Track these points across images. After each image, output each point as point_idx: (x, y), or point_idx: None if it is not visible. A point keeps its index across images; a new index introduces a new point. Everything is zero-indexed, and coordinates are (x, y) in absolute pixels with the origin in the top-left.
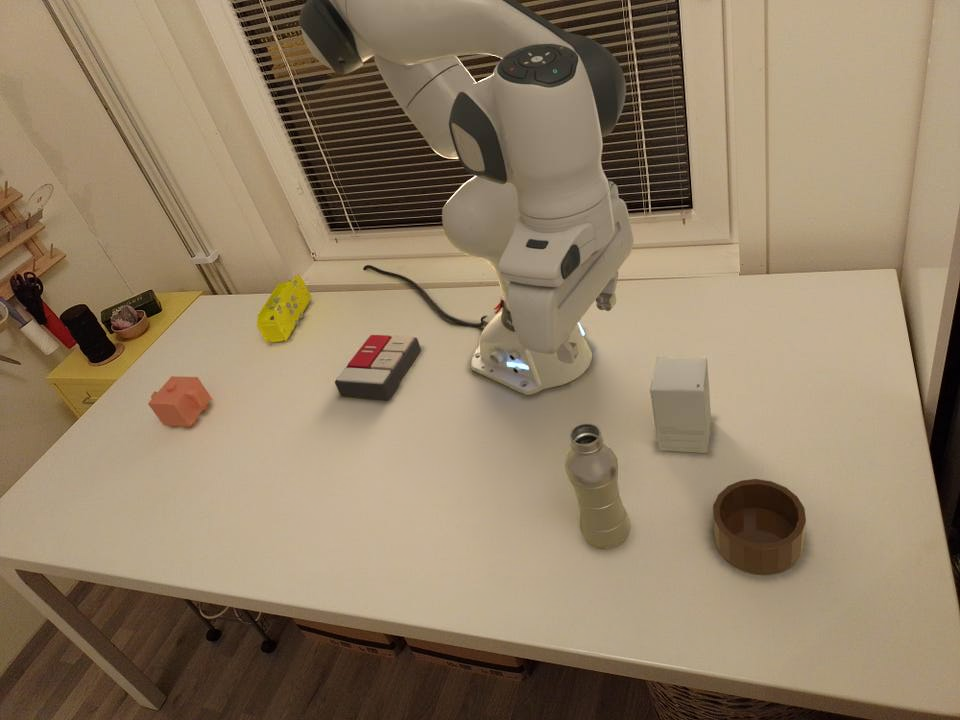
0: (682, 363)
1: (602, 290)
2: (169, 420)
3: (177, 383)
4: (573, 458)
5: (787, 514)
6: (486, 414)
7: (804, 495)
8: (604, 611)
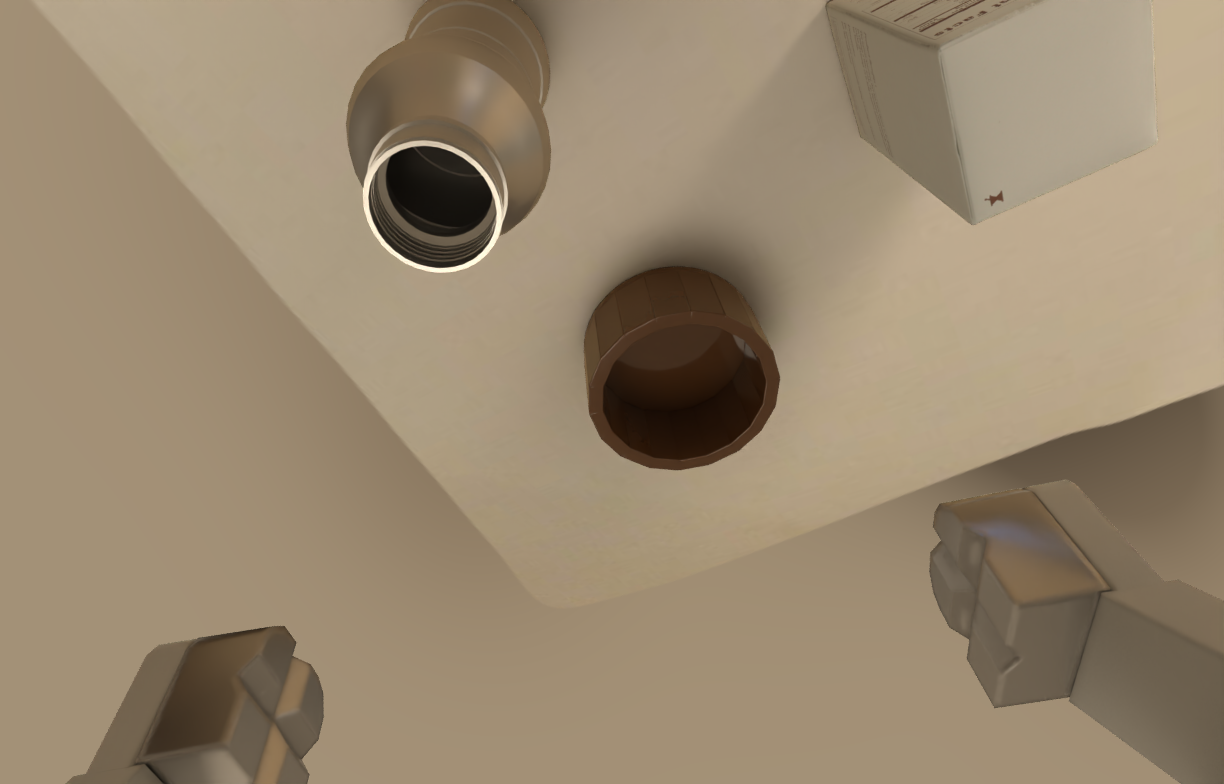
0: (1111, 83)
1: (1120, 651)
2: None
3: None
4: (373, 143)
5: (739, 383)
6: None
7: (815, 362)
8: (307, 190)
